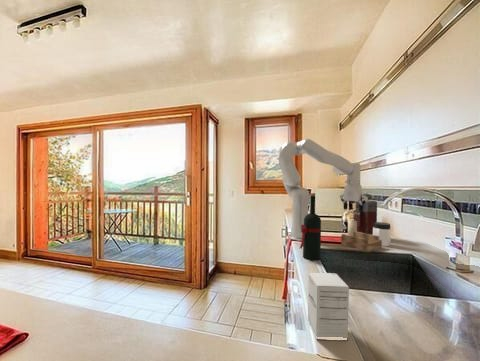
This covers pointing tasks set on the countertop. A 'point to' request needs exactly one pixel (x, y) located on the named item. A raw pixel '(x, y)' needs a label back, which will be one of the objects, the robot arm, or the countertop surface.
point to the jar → (382, 232)
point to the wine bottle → (311, 233)
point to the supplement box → (328, 305)
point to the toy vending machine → (366, 216)
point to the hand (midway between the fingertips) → (353, 210)
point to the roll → (352, 227)
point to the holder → (361, 241)
